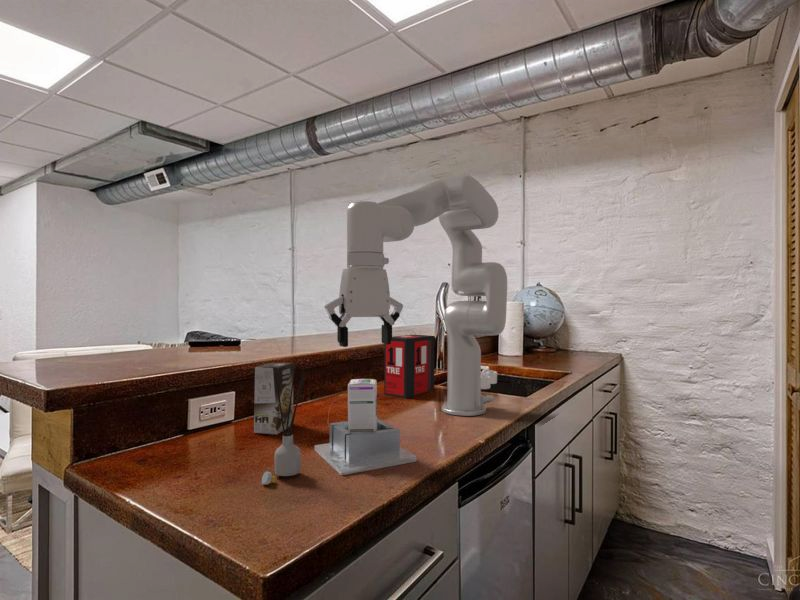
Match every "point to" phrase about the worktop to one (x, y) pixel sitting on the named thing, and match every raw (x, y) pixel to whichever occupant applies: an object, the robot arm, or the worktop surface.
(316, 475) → the worktop surface
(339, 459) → the square socket
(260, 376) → the coffee box
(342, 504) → the worktop surface
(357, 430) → the syrup box
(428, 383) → the cleaning product box
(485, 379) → the skeletal toy car
